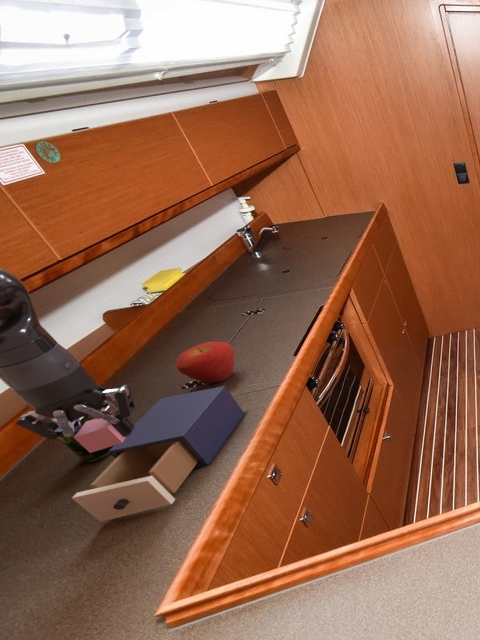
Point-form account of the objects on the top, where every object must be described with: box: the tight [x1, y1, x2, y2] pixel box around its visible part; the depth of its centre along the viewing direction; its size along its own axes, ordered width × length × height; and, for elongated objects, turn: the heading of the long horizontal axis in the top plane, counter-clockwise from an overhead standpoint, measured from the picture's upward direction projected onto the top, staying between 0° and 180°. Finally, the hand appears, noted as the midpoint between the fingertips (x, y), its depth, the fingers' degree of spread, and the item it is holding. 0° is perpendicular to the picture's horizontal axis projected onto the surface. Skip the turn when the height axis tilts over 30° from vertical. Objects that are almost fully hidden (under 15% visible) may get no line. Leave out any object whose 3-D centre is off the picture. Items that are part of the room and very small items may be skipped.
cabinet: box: [108, 385, 245, 469], centre depth 95 cm, size 16×13×10 cm
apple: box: [175, 341, 235, 384], centre depth 114 cm, size 11×11×12 cm
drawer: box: [71, 439, 199, 523], centre depth 85 cm, size 16×12×8 cm
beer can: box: [50, 416, 113, 463], centre depth 93 cm, size 5×5×12 cm
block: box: [74, 418, 127, 453], centre depth 78 cm, size 4×4×4 cm
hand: (110, 438), depth 79 cm, fingers closed on block, 4 cm apart
